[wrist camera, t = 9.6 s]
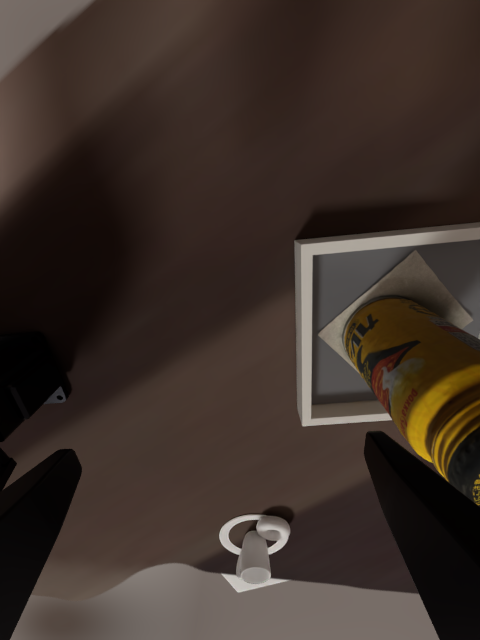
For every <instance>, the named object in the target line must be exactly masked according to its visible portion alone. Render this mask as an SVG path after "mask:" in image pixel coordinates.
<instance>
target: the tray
mask: <svg viewBox="0 0 480 640" xmlns="http://www.w3.org/2000/svg"><path fill="white" fill-rule="evenodd" d="M415 250H416V251H417V252H418V253H419V255H420V256H421V257H422V258H423V260H424V261H425V263H426V264H427V265H428V266H429V267H430V268H431V270H432V271H433V272H434V274H435V275H436V276H437V277H438V279H439V281H441V282H442V283H443V285H444V286H445V287H446V288H447V290H448V291H449V292H450V293H451V295H452V296H453V297H454V298H455V299H456V300H457V302H458V303H459V304H460V305H461V306H462V308H463V309H464V310H465V311H466V312H467V313H468V314H469V315H470V317H471V318H472V319H473V321H472V322H470V323H469V324H468V325H466V326H465V327H464V328H463V329H462V330H464V331H466V332H467V333H469V334H471V335H473V336H475V337H476V338H478V339H480V222H477V223H466V224H456V225H446V226H435V227H425V228H415V229H405V230H394V231H384V232H374V233H363V234H353V235H343V236H333V237H322V238H312V239H302V240H295V302H296V364H297V409H298V412H299V416H300V419H301V423H302V426H313V425H327V424H341V423H355V422H370V421H384V420H392V419H391V417H390V416H389V414H388V413H387V411H386V410H385V408H384V407H383V406H382V404H381V403H380V402H379V401H378V399H377V398H376V396H375V395H374V394H373V392H372V390H371V389H370V388H369V387H368V385H367V383H366V382H365V380H364V379H363V378H362V377H361V375H360V374H359V373H358V372H357V371H356V370H355V369H354V368H353V367H352V366H351V365H350V364H349V363H348V362H347V361H345V360H344V359H343V358H342V357H341V356H340V355H339V354H338V353H337V352H336V351H335V350H334V349H332V348H331V347H330V346H329V345H328V344H327V343H326V342H325V341H324V340H323V339H322V338H321V337H319V336H318V334H319V333H320V332H321V331H322V330H323V329H324V328H325V327H326V326H327V325H328V324H329V323H331V322H332V321H333V320H334V319H335V318H336V317H337V316H339V315H340V314H341V313H342V312H343V311H344V310H346V309H347V308H348V307H349V306H350V305H351V304H353V303H354V302H355V301H356V300H357V299H358V298H360V297H361V296H362V295H363V294H364V293H366V292H367V291H368V290H370V289H371V288H372V287H373V286H374V285H376V284H377V283H378V282H379V281H380V280H381V279H382V278H384V277H385V276H386V275H387V274H389V273H390V272H391V271H392V270H393V269H394V268H395V267H396V266H397V265H398V264H400V263H401V262H402V261H404V260H405V259H406V258H407V257H408V256H409V255H410V254H411V253H412V252H414V251H415Z"/></svg>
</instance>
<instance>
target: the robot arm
mask: <svg viewBox="0 0 480 640" xmlns="http://www.w3.org/2000/svg"><path fill="white" fill-rule="evenodd" d="M35 337H36V338H37V339H38V340H36V339H35ZM60 395H61V396H62V397H61V396H60ZM68 397H69V395H68V392H67V390H66V387H65V385H64V383H63V380H62V378H61V375H60V373H59V371H58V368H57V366H56V364H55V361H54V359H53V356H52V354H51V352H50V349H49V347H48V344H47V342H46V340H45V337H44V336H43V335H42V334H41V333H39V332H28V333H17V334H5V335H0V442H3V441H4V440H5V439H6V438H7V437H8V436H9V435H10V434H11V433H12V432H13V431H14V430H15V429H16V428H17V427H18V426H19V425H20V424H21V423H22V422H23V421H24V420H25V419H29V418H30V417H31V416H32V415H33V414H34V413H35V412H36V411H37V410H38V409H39V408H40V407H41V406H42V405H43V404H48V403H61V402H64V401H66V400H67V398H68ZM364 456H365V460H366V463H367V466H368V469H369V472H370V475H371V478H372V481H373V484H374V487H375V490H376V493H377V496H378V499H379V502H380V505H381V508H382V510H383V513H384V516H385V518H386V521H387V523H388V525H389V528H390V530H391V532H392V534H393V537H394V539H395V541H396V543H397V545H398V548H399V550H400V552H401V554H402V557H403V559H404V561H405V563H406V566H407V568H408V570H409V572H410V575H411V577H412V579H413V581H414V583H415V586H416V588H417V590H418V592H419V595H420V597H421V599H422V601H423V604H424V606H425V608H426V610H427V612H428V615H429V617H430V619H431V621H432V624H433V626H434V628H435V630H436V633H437V635H438V637H439V639H440V640H480V506H478V505H477V504H476V503H475V502H473V501H472V500H471V499H469V498H468V497H467V496H466V495H464V494H463V493H462V492H460V491H459V490H458V489H456V488H455V487H454V486H453V485H451V484H450V483H449V482H447V481H446V480H445V479H444V478H442V477H441V476H440V475H438V474H437V473H436V472H434V471H433V470H432V469H431V468H429V467H428V466H427V465H425V464H424V463H423V462H422V461H420V460H419V459H418V458H416V457H415V456H414V455H412V454H411V453H410V452H409V451H407V450H406V449H405V448H403V447H402V446H401V445H400V444H398V443H397V442H396V441H394V440H393V439H392V438H390V437H389V436H388V435H387V434H385V433H384V432H382V431H369V432H367V434H366V439H365V447H364ZM16 464H17V463H16V462H15V461H14V460H13V458H9V457H8V456H7V454H6V453H5V452H4V451H3V450H2V449H1V448H0V640H10V638H11V636H12V634H13V632H14V630H15V627H16V625H17V623H18V621H19V619H20V617H21V614H22V612H23V610H24V608H25V606H26V604H27V601H28V599H29V597H30V595H31V593H32V591H33V589H34V587H35V584H36V582H37V580H38V578H39V576H40V574H41V572H42V569H43V567H44V565H45V563H46V561H47V559H48V557H49V554H50V552H51V550H52V548H53V546H54V544H55V541H56V539H57V537H58V535H59V532H60V530H61V528H62V525H63V523H64V520H65V517H66V515H67V512H68V509H69V507H70V504H71V501H72V498H73V496H74V493H75V490H76V488H77V485H78V482H79V479H80V477H81V473H82V467H81V464H80V462H79V460H78V458H77V455H76V453H75V451H74V450H73V449H60V450H58V451H56V452H54V453H53V454H52V455H50V456H49V457H48V458H46V459H45V460H44V461H42V462H41V463H39V464H38V465H37V466H35V467H34V468H33V469H31V470H30V471H29V472H27V473H26V474H24V475H23V476H22V477H20V478H19V479H18V480H16V481H15V482H14V483H12V484H11V485H9V486H8V487H7V488H5V489H4V490H3V488H4V486H5V484H6V483H7V481H8V479H9V477H10V475H11V474H12V472H13V470H14V468H15V466H16ZM2 490H3V491H2Z"/></svg>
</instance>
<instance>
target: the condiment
mask: <svg viewBox="0 0 480 640" xmlns="http://www.w3.org/2000/svg"><path fill="white" fill-rule="evenodd" d="M472 321H473V319H472V318H471V317H470V315H469V314H468V313H467V312H466V311H465V310H464V309H463V308H462V306H461V305H460V304H459V303H458V302H457V300H456V299H455V298H454V297H453V296H452V295H451V293H450V292H449V291H448V290H447V288H446V287H445V286H444V285H443V283H442V282H441V281H439V279H438V277H437V276H436V275H435V274H434V272H433V271H432V270H431V268H430V267H429V266H428V265H427V264H426V263H425V261H424V260H423V258H422V257H421V256H420V255H419V253H418V252H417V251H416V250H415V251H414V252H412V253H411V254H410V255H409V256H408V257H407V258H406V259H405V260H404V261H402V262H401V263H400V264H398V265H397V266H396V267H395V268H394V269H393V270H392V271H391V272H390V273H389V274H387V275H386V276H385V277H384V278H382V279H381V280H380V281H379V282H378V283H377V284H376V285H374V286H373V287H372V288H371V289H370V290H368V291H367V292H366V293H364V294H363V295H362V296H361V297H360V298H358V299H357V300H356V301H355V302H354V303H353V304H351V305H350V306H349V307H348V308H347V309H346V310H344V311H343V312H342V313H341V314H340V315H339V316H337V317H336V318H335V319H334V320H333V321H332V322H331V323H329V324H328V325H327V326H326V327H325V328H324V329H323V330H322V331H321V332H320V333H319V334H318V336H319V337H321V338H322V339H323V340H324V341H325V342H326V343H327V344H328V345H329V346H330V347H331V348H332V349H334V350H335V351H336V352H337V353H338V354H339V355H340V356H341V357H342V358H343V359H344V360H345V361H347V362H348V363H349V364H350V365H351V366H352V367H353V368H354V369H355V370H356V371H357V372H358V373H359V374H360V375H361V377H362V378H363V379H364V380H365V382H366V383H367V385H368V387H369V388H370V389H371V390H372V392H373V394H374V395H375V396H376V398H377V399H378V401H379V402H380V403H381V404H382V406H383V407H384V408H385V410H386V411H387V413H388V414H389V416H390V417H391V419H392V420H393V421H394V422H395V424H396V425H397V427H398V429H399V430H400V433H401V434H402V435H403V436H404V437H405V438H406V440H407V441H408V442H409V443H410V445H411V446H412V448H413V449H414V450H415V452H416V453H417V454H418V455H420V456H421V457H423V458H424V459H426V460H427V461H429V462H432V463H433V464H434V466H435V468H436V469H437V470H438V471H439V473H440V474H441V475H442V476H443V477H444V478H445V479H446V480H447V481H448V482H449V483H450V484H451V485H453V486H454V487H455V488H456V489H458V490H459V491H460V492H462V493H463V494H464V495H466V496H467V497H468V498H469V499H471V500H472V501H473V502H475V503H476V504H477V505H478V506H480V339H478V338H476V337H475V336H473V335H471V334H469V333H467V332H466V331H464V330H462V329H463V328H464V327H465V326H466V325H468V324H469V323H470V322H472Z"/></svg>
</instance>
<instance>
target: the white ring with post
mask: <svg viewBox="0 0 480 640" xmlns="http://www.w3.org/2000/svg"><path fill="white" fill-rule="evenodd" d="M247 520H259V521H258V523H257V526H256V529H257V531H249V532H247V533H246V535H245V537H244V541H243V546H242V549H240V548H238V547H236V546H234V545H233V544H232V543H231V542H230V540H229V537H228V534H229V531H230V529H231V528H232V527H233V526H234V525H236V524H238V523H240V522H243V521H247ZM289 534H290V527H289V524H288V523H287V521H286V520H284V519H282V518H280V517H277V516H267V515H261V514H248V515H242V516H238V517H236V518H233V519H231V520H229V521H228V522H227V523H225V524H224V525H223V527H222V528H221V530H220V534H219V538H220V541H221V543H222V545H223V546H224V547H225V548H226V549H228V550H229V551H231V552H233V553H235V554H238V555H239V558H238V562H237V567H236V575H228V574H222V575H223V576H224V578H225V579H226V580H227V581H228V582H229V583H230V584H231V586H232V587H233V588H234V589H235V590H236V591H237V592H238V593H239V592H244V591H247V590H251V589H256V588H260V587H265V586H268V585H273V584H277V583H281V582H286V581H290V580H281V579H271V578H270V577H271V571H270V563H269V554H272V553H274V552H276V551H278V550H279V549H281V548H282V547H283V546H284V545H285V544H286V542H287V540H288V536H289ZM265 539H268V540H273V541H277V542H276V543H275V544H274V545H273V546H271V547H270V548H267V544H266V540H265ZM240 568H241V576H240Z"/></svg>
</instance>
